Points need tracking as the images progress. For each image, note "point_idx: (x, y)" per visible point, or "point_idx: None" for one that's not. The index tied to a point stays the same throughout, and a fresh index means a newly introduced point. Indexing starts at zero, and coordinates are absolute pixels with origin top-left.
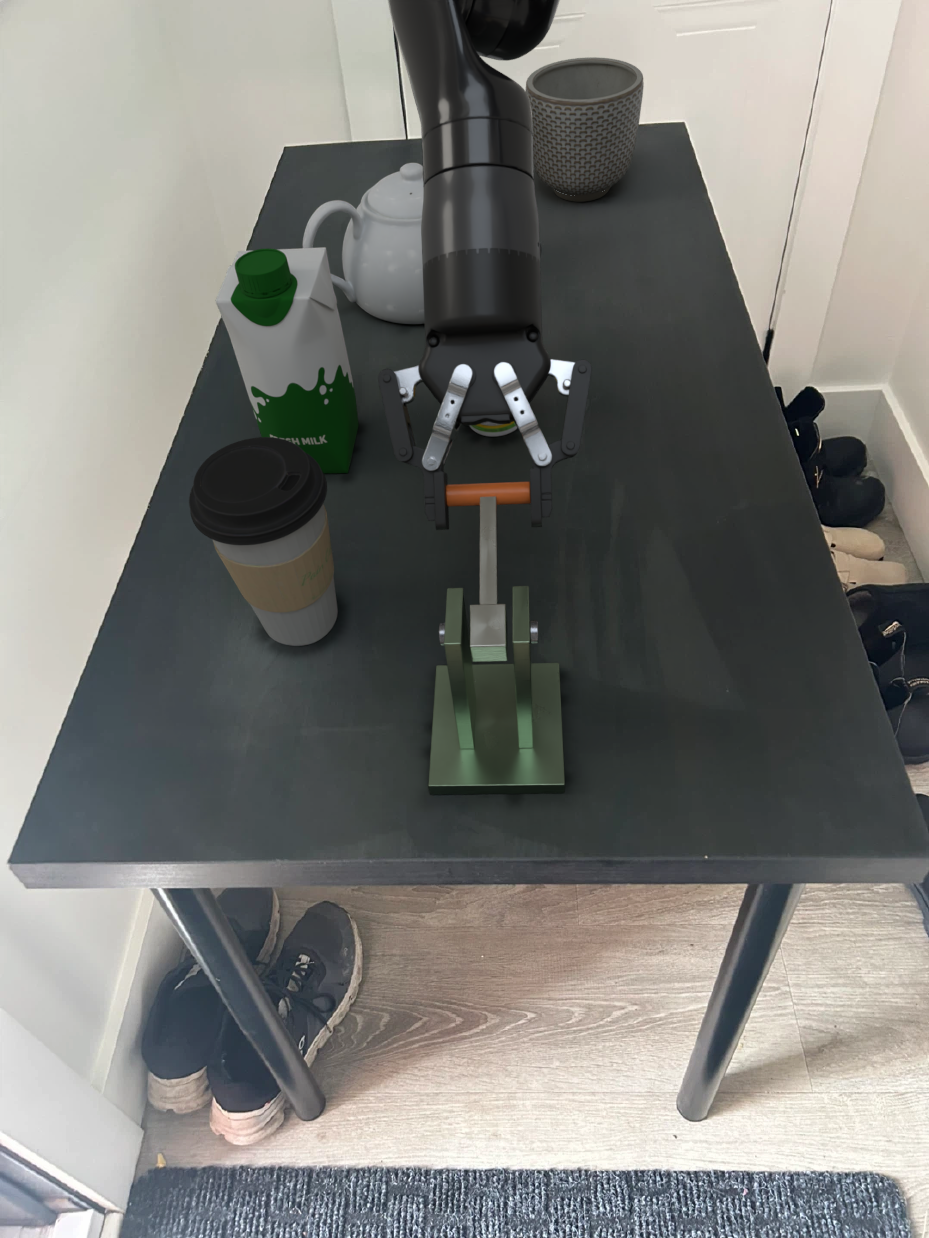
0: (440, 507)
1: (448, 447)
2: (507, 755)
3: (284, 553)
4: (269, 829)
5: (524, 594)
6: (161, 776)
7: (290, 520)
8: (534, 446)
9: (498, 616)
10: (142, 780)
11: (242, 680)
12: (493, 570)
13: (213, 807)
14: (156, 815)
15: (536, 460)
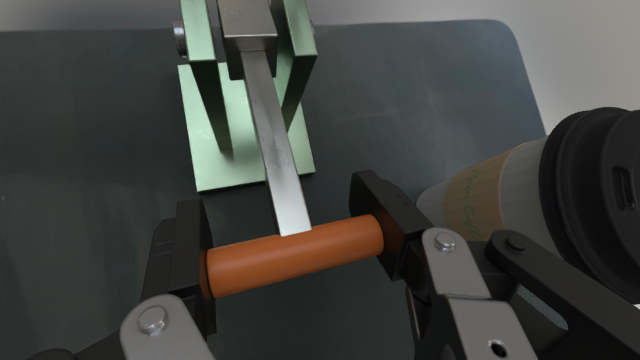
0: (377, 186)
1: (420, 326)
2: (232, 88)
3: (526, 147)
4: (388, 38)
5: (192, 43)
6: (468, 70)
7: (568, 138)
8: (177, 343)
9: (232, 21)
10: (477, 67)
11: (456, 149)
12: (255, 98)
13: (428, 51)
14: (457, 45)
15: (175, 304)
